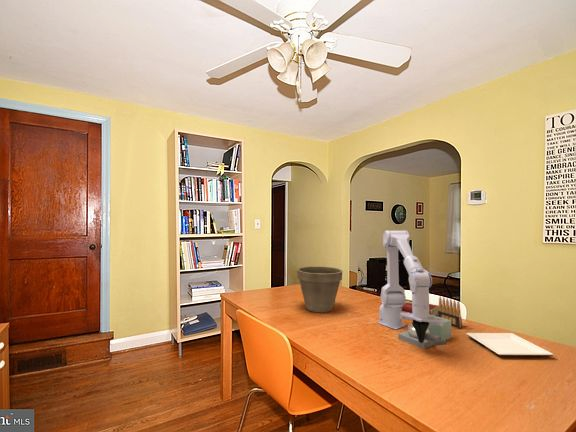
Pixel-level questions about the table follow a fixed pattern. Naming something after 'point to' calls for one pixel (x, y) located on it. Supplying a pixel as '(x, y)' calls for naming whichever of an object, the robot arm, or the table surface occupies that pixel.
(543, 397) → the table surface
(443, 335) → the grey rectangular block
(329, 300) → the plant pot
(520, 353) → the plate
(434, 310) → the hardcover book
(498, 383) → the table surface
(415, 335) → the grey t-handle
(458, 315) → the ammunition clip
